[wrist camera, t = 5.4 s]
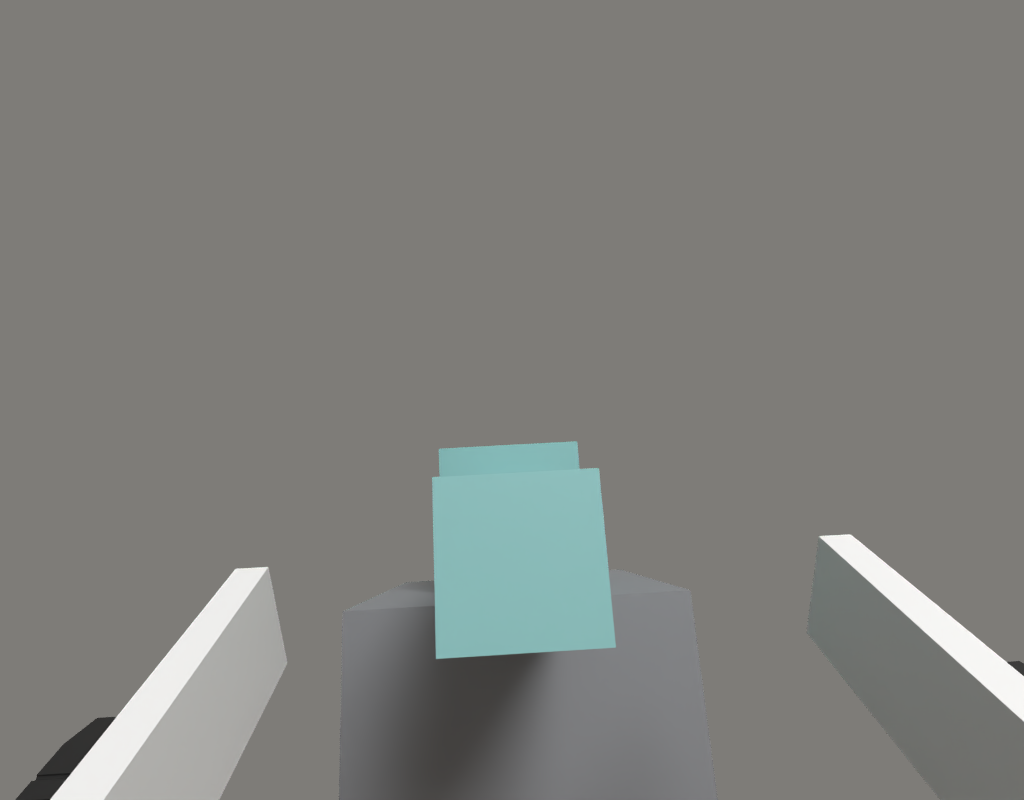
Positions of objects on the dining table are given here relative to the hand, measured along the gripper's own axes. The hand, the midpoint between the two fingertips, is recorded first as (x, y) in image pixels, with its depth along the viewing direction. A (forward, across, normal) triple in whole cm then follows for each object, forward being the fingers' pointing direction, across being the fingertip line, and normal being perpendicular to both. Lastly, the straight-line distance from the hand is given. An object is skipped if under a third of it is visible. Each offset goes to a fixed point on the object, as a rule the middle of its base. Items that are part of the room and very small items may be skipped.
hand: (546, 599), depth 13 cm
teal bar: (+8, -1, -6) cm, 10 cm away
